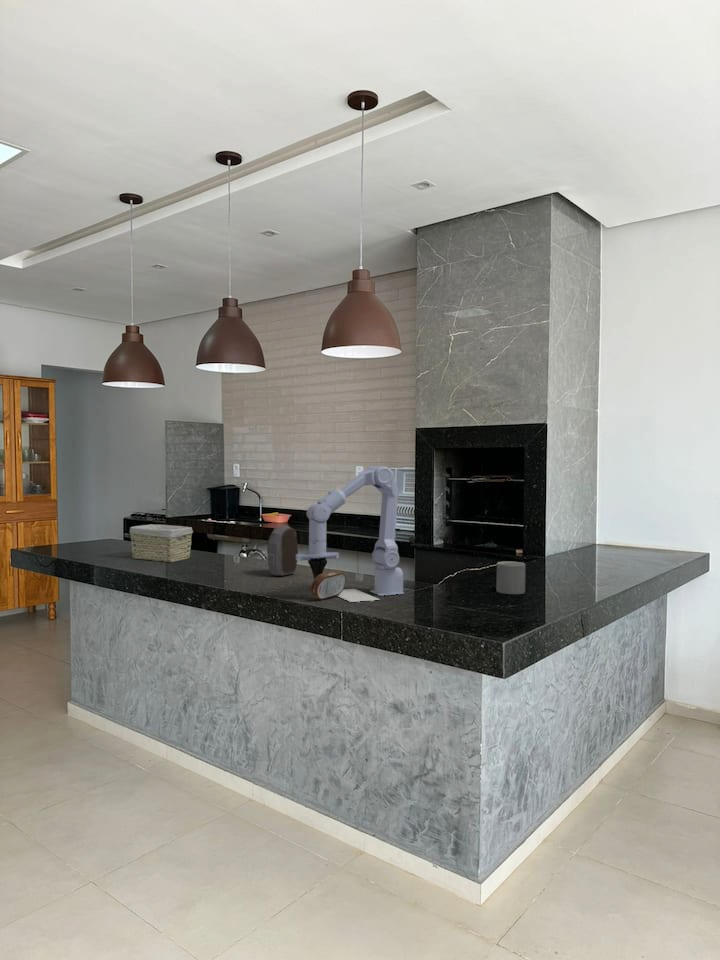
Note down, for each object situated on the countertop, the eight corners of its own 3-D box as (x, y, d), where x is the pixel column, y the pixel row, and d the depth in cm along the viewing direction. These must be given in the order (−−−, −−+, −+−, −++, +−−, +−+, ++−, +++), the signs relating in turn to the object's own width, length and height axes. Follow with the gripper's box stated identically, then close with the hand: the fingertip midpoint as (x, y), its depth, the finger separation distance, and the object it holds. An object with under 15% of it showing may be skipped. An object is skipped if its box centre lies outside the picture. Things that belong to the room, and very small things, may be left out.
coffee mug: (518, 595, 243) (519, 566, 243) (491, 592, 249) (492, 563, 249) (532, 589, 255) (533, 562, 254) (506, 586, 260) (507, 559, 260)
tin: (339, 591, 241) (342, 567, 240) (346, 594, 239) (349, 570, 238) (308, 599, 230) (311, 575, 228) (315, 602, 228) (318, 577, 226)
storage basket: (194, 558, 320) (194, 526, 320) (171, 563, 305) (171, 529, 305) (152, 555, 330) (152, 523, 329) (127, 559, 315) (127, 526, 314)
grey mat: (354, 589, 250) (354, 588, 250) (379, 600, 231) (380, 599, 231) (327, 591, 245) (327, 590, 245) (350, 603, 227) (350, 601, 227)
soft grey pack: (278, 578, 270) (278, 526, 270) (260, 576, 274) (261, 525, 274) (300, 573, 283) (301, 523, 283) (283, 571, 287) (284, 522, 287)
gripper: (333, 538, 239) (332, 577, 239) (292, 539, 233) (292, 580, 233) (341, 540, 232) (341, 581, 233) (300, 542, 226) (299, 584, 227)
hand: (317, 581), depth 233 cm, fingers closed
